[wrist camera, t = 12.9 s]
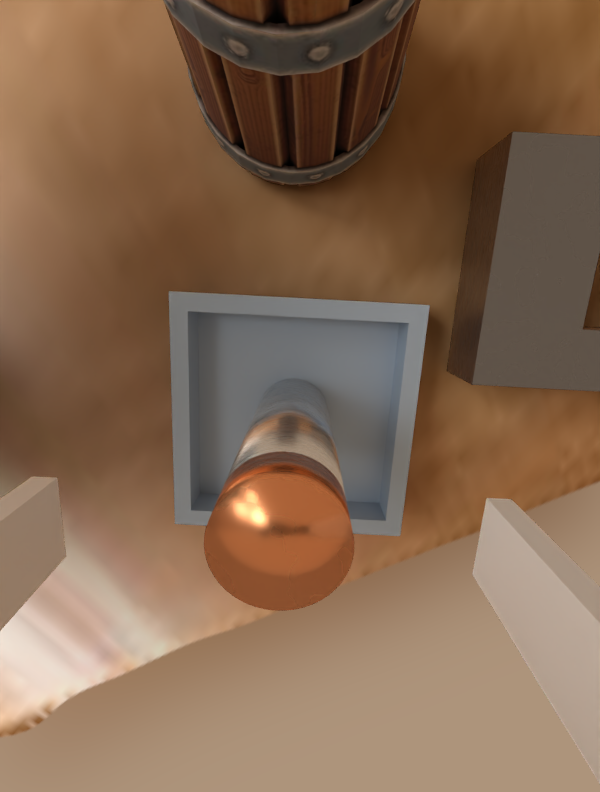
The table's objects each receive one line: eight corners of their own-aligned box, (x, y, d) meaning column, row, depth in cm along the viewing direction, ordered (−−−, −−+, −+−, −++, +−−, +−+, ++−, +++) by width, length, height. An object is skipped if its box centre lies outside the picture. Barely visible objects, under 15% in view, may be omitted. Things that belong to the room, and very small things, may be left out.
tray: (188, 500, 28) (174, 523, 25) (185, 291, 24) (168, 291, 21) (390, 510, 28) (400, 536, 25) (414, 303, 24) (429, 305, 21)
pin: (259, 376, 25) (203, 473, 11) (330, 380, 25) (360, 482, 11) (257, 443, 26) (204, 606, 12) (325, 447, 26) (348, 614, 12)
